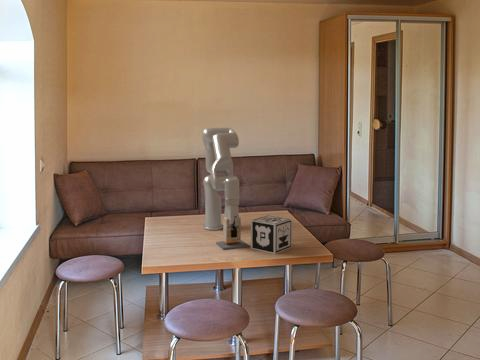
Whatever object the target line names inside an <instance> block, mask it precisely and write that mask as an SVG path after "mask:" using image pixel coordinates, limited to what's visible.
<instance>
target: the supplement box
mask: <svg viewBox="0 0 480 360" xmlns="http://www.w3.org/2000/svg"><path fill="white" fill-rule="evenodd" d="M222 223H223V229H222V230H223V233H222V235H223V238H222V239H223V240H222V241H224V242H225V243H226V244H228V243H236V242H241V240H242V235H241V234H242V231H241V230H242V225H241V224H242V219H241V217H240V216H239V223H238V227H237V237H234V238H231V230H232V228H231V225H230V224H229V219H228V218H226V217H223V222H222ZM233 224H235V223H233ZM233 226H235V225H233Z"/></svg>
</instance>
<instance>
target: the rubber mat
mask: <svg viewBox="0 0 480 360" xmlns="http://www.w3.org/2000/svg"><path fill="white" fill-rule="evenodd" d="M215 245H217V247H219V248H221V249H222V250H223V251H224V250H234V249H243V248H250V245H249V244H248V243H247V242H245V241H243V240H242V239H241V242H236V243H228V244H226V243H225V242H224V241H223V240H222V241H216V242H215Z"/></svg>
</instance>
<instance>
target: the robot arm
mask: <svg viewBox="0 0 480 360" xmlns="http://www.w3.org/2000/svg"><path fill="white" fill-rule="evenodd" d="M201 137H202V138H201V139H202V143H203V146H204V149H205V169H206V172H207V173H209V175H206V176H205V177H204V178H203V181H202V184H203V189H204V204H205V205H204V206H205V212H204V214H205V215H204V216H205V224H203V225H202V228H203V229H204V230H209V231H218V230H223V224H222V197H221V195H220V194H219V193H218V192H223V191H224V217H226V218H228V219H229V224H230V225H231V228H232V230H231V238H234V237H237V227H238V223H239V217H240V215H239V214H240V212H239V211H240V210H239V209H240V208H239V206H240V179H239V178H238V176H236V175H234V163H233V159H232V154H231V150H230V149H236V148H238V146H239V143H240V139H239V136H238V134H237V132H236V131H235V130H234V129H233V128H232V127H209V128H205V129H203V130H202V133H201ZM218 173H224V174H218ZM224 217H223V218H224ZM233 223H235V224H233ZM233 225H235V226H233Z"/></svg>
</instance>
